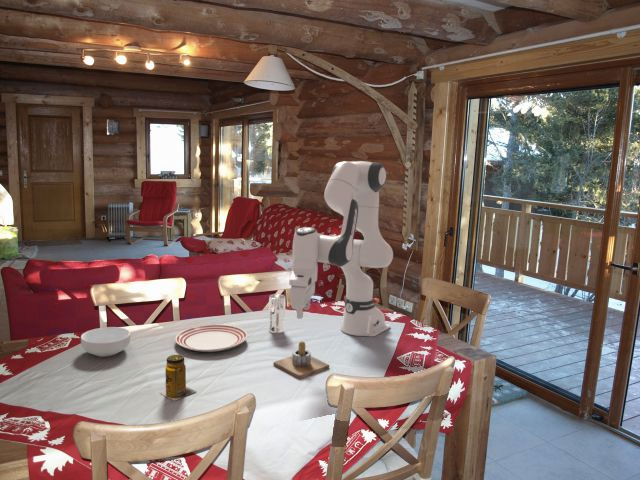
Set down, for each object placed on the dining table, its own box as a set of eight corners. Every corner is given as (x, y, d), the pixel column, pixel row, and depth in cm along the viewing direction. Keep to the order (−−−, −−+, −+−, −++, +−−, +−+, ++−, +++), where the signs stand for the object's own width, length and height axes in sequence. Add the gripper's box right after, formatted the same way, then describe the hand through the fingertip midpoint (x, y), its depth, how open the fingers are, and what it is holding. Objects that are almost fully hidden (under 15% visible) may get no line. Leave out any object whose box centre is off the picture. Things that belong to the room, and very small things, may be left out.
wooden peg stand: (303, 355, 201) (303, 331, 199) (329, 368, 191) (330, 343, 189) (273, 365, 192) (274, 340, 190) (299, 378, 182) (300, 352, 180)
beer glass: (282, 334, 221) (283, 299, 218) (265, 332, 222) (266, 297, 219) (286, 329, 228) (287, 294, 225) (270, 327, 229) (271, 293, 226)
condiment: (160, 393, 168) (159, 357, 166) (182, 384, 174) (182, 349, 172) (173, 401, 163) (173, 364, 161) (196, 392, 170) (196, 356, 167)
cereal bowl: (139, 353, 197) (138, 335, 196) (94, 366, 185) (93, 346, 184) (117, 340, 208) (116, 322, 207) (73, 351, 196) (72, 333, 195)
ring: (302, 358, 196) (302, 347, 195) (314, 364, 191) (314, 353, 190) (288, 362, 191) (288, 352, 191) (300, 368, 187) (300, 358, 186)
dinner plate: (160, 349, 202) (160, 340, 202) (202, 326, 227) (202, 319, 227) (223, 363, 192) (223, 354, 192) (259, 337, 217) (260, 330, 217)
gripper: (302, 267, 196) (301, 303, 198) (287, 282, 176) (286, 322, 179) (319, 268, 194) (318, 305, 197) (306, 283, 175) (305, 324, 177)
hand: (303, 313), depth 188 cm, fingers open, 8 cm apart
